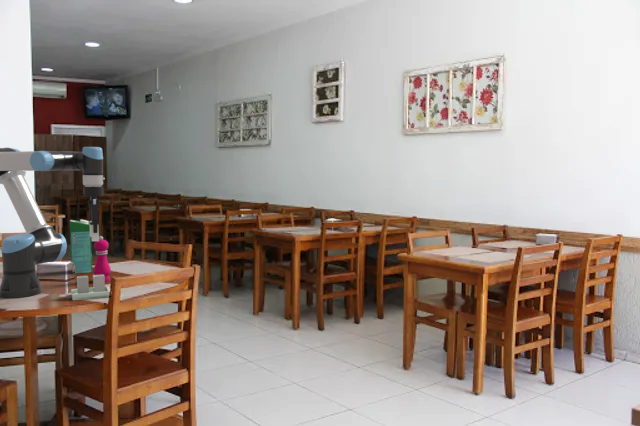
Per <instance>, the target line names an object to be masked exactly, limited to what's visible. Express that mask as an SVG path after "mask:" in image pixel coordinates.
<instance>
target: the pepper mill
mask: <svg viewBox="0 0 640 426" xmlns="http://www.w3.org/2000/svg"><path fill="white" fill-rule="evenodd" d="M93 248H94V250H95V255H96V262H95V265H94V267H93V275H102V274H104V276H105V283H108V282H110V281H111V277H110V276H109V275H110V274H111V273H112V269H111V265H110V264H109V262H108V249H109V242H108V241H107V240H106V239H104V237H103V236H102V235H99V241H94V244H93Z"/></svg>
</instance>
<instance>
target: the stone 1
mask: <svg viewBox="0 0 640 426" xmlns="http://www.w3.org/2000/svg"><path fill="white" fill-rule="evenodd" d="M89 282H90V281H89V276H88V275H79V276H77V275H76V289H77V294H82V293H89V288H90V287H89Z"/></svg>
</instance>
